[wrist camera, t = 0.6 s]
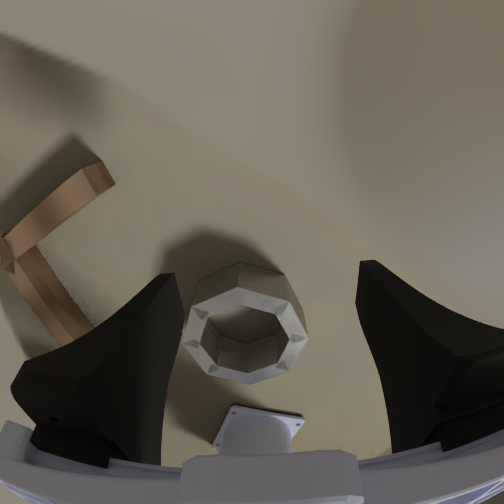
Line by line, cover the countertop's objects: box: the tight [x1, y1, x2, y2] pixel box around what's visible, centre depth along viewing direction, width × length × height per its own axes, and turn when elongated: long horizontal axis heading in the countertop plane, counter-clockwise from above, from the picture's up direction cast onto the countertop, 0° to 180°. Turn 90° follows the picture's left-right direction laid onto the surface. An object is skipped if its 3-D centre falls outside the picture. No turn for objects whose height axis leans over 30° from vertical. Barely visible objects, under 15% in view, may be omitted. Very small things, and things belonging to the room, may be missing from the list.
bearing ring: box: [182, 262, 309, 385], centre depth 23 cm, size 8×8×4 cm
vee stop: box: [0, 161, 115, 346], centre depth 22 cm, size 17×9×3 cm, turn 162°
